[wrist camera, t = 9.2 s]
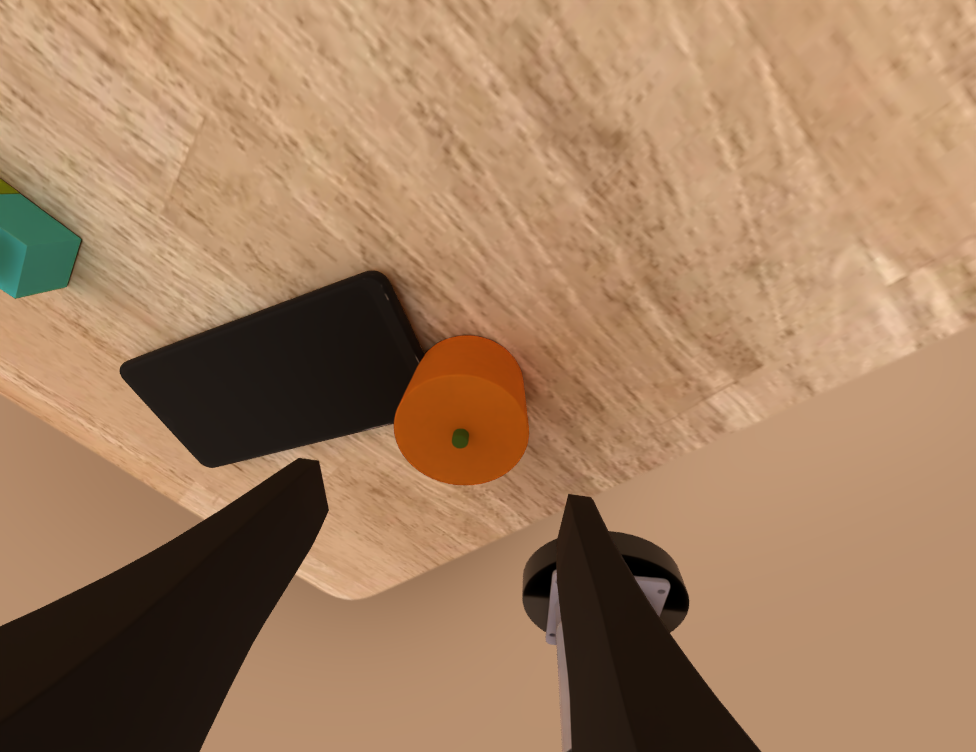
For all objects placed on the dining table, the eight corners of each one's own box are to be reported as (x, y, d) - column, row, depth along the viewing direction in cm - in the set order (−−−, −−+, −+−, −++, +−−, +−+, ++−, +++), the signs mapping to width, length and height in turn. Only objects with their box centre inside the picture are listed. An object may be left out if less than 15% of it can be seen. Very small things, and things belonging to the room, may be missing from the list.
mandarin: (522, 430, 18) (527, 495, 14) (420, 430, 18) (399, 493, 14) (525, 334, 15) (532, 380, 12) (409, 334, 16) (380, 380, 12)
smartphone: (447, 413, 17) (205, 472, 20) (450, 403, 17) (216, 461, 21) (377, 267, 14) (109, 367, 17) (385, 263, 14) (126, 360, 18)
